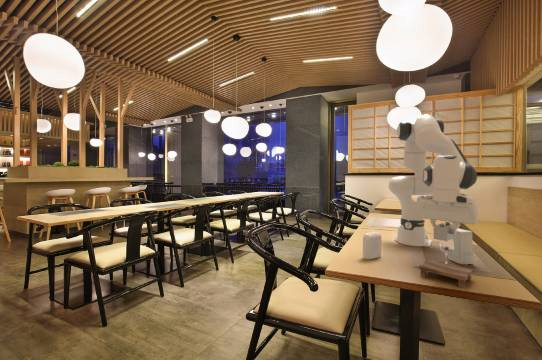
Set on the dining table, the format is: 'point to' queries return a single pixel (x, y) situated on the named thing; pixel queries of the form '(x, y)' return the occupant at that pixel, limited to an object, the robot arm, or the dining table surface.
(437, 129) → the robot arm
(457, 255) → the skincare box
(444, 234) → the plate
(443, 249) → the wineglass
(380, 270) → the dining table surface
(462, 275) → the stand
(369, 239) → the photo printer
